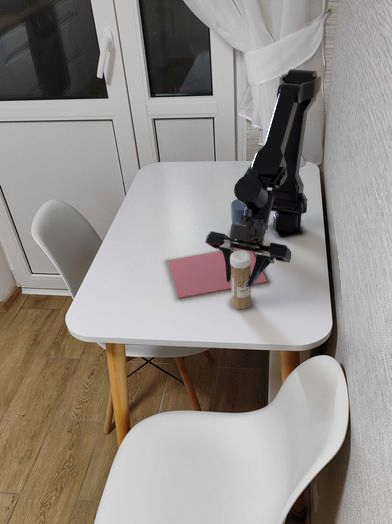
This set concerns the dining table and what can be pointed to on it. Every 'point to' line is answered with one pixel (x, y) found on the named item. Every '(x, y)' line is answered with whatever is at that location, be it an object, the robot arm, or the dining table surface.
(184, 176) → the dining table surface
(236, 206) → the blue canister
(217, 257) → the rose mat
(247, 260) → the sprinkles bottle
